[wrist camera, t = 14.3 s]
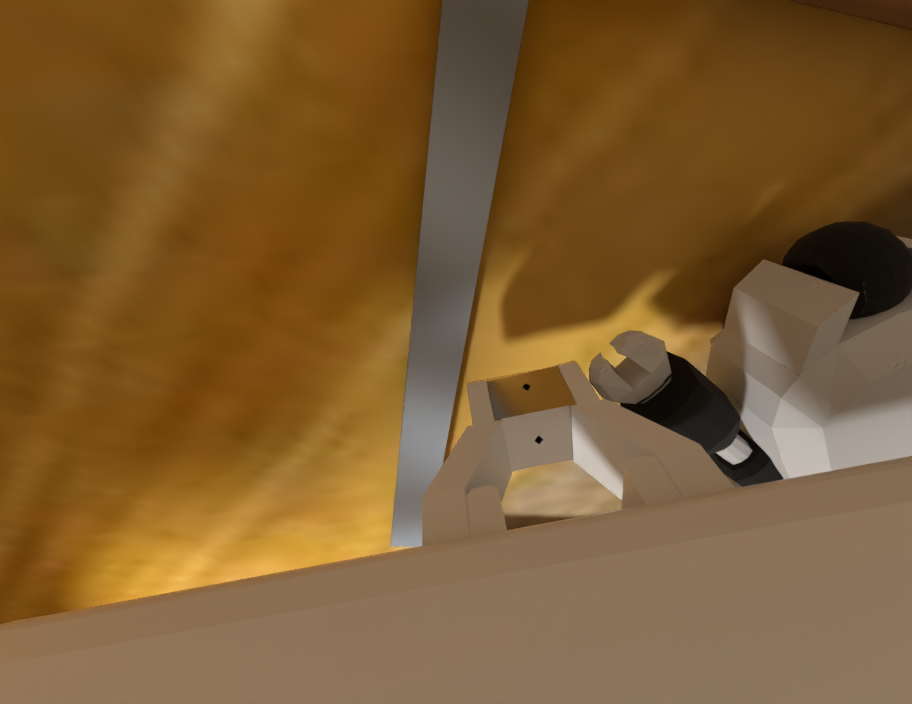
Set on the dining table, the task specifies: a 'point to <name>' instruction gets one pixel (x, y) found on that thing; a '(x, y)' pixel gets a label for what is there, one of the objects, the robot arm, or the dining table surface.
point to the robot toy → (791, 363)
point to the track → (474, 219)
